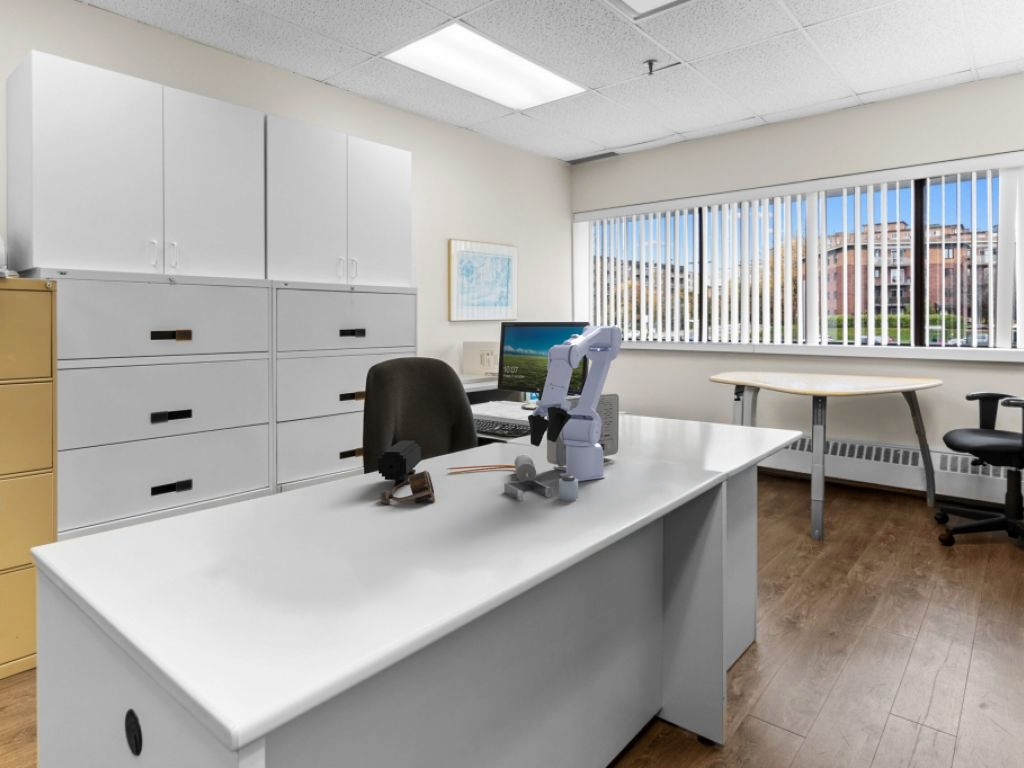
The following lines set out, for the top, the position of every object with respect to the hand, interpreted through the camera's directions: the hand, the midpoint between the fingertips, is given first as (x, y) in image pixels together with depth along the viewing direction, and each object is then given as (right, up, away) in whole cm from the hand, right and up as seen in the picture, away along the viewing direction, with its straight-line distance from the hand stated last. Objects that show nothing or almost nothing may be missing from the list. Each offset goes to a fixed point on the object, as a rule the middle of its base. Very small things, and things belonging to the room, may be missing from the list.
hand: (542, 442), depth 147 cm
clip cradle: (-4, -13, +4) cm, 14 cm away
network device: (+14, -10, +34) cm, 38 cm away
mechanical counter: (-31, -14, -1) cm, 34 cm away
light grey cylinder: (+6, -13, 0) cm, 14 cm away
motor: (-13, -11, +18) cm, 25 cm away
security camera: (-35, -12, +15) cm, 40 cm away
